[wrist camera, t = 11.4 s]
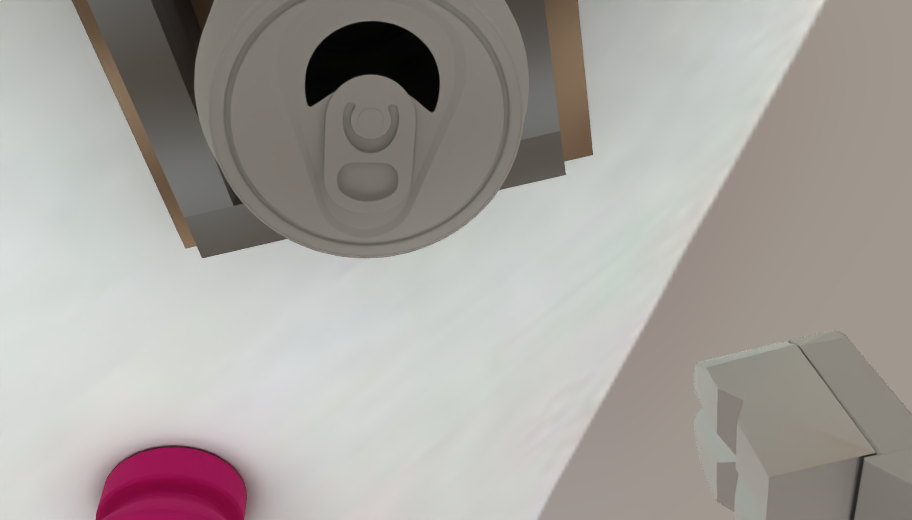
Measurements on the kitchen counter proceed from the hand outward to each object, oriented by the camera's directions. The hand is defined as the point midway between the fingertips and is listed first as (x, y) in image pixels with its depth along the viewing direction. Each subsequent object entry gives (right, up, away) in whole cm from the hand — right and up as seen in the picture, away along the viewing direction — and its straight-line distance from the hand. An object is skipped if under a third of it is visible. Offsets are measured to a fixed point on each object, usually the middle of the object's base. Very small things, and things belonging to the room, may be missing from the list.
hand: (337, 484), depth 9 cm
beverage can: (-2, +11, +16) cm, 20 cm away
